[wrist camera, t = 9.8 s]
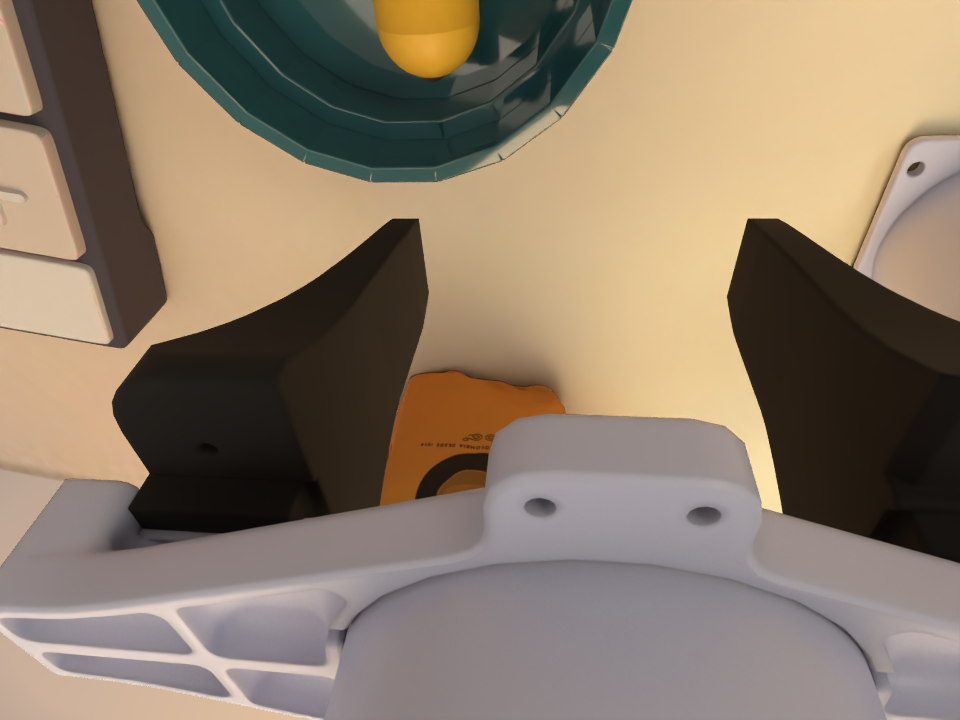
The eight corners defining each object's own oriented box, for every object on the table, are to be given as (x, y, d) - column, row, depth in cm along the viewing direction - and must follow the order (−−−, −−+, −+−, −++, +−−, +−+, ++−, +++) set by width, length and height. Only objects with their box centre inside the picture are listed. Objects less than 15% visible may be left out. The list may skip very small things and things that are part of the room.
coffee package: (598, 378, 29) (643, 1109, 13) (553, 522, 37) (545, 1072, 21) (391, 349, 29) (171, 1036, 13) (392, 500, 37) (261, 1029, 21)
